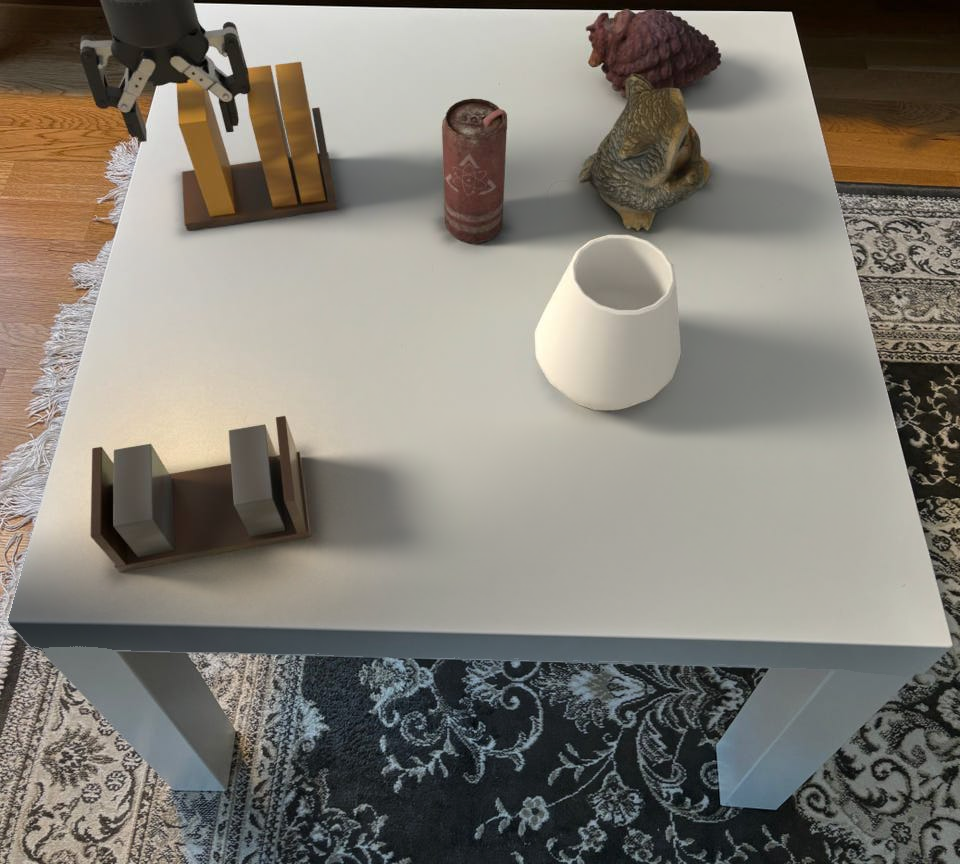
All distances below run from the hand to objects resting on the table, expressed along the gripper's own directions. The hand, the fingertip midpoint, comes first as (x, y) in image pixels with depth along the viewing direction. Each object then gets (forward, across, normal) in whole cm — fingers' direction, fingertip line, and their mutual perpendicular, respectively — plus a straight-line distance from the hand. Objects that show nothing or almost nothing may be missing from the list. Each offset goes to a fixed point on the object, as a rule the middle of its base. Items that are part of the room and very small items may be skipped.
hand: (186, 131), depth 88 cm
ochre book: (+8, -2, 0) cm, 8 cm away
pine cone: (+8, -53, -9) cm, 54 cm away
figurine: (+8, -47, +9) cm, 48 cm away
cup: (+9, -36, +30) cm, 47 cm away
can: (+9, -28, +9) cm, 30 cm away
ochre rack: (+9, -6, 0) cm, 11 cm away
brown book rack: (+10, +1, +38) cm, 39 cm away
